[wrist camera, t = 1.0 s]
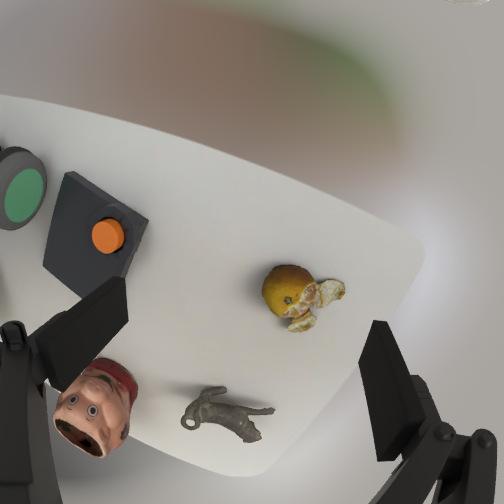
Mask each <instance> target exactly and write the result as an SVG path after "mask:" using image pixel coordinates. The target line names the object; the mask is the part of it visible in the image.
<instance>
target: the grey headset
mask: <svg viewBox="0 0 504 504" xmlns="http://www.w3.org/2000/svg"><path fill="white" fill-rule="evenodd" d="M46 185H47V177H46V172H45V168H44V166H43V163H42V162H41V161H40V159H38V158H37V157H36V156H35V155H33V154H32V153H31V152H30V151H29V150H27V149H24V148H21V147H9V148H6V149H4V150H2V151H1V147H0V228H1V229H4V230H16V229H19V228H21V227H23V226H25V225H26V224H27V223H29V222H30V220H31V219H32V218H33V217H34V216H35V215H36V213H37V212H38V210H39V208H40V206H41V204H42V202H43V199H44V196H45V192H46Z"/></svg>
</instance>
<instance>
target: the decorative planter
mask: <svg viewBox="0 0 504 504" xmlns="http://www.w3.org/2000/svg"><path fill="white" fill-rule="evenodd" d="M137 391H138V385H137V383H136V382H135V380H134V378H133V377H132V376H131V375H130V374H129V372H127V371H126V370H125V369H123V368H122V367H121V366H120V365H118V364H116V363H114V362H112V361H110V360H108V359H103V358H99V359H96V360H94V361H92V362H91V363H90V364H89V365H88V366H87V367H86V368H85V370H84V372H83V374H82V375H79V376H78V377H77V378H76V380H75V381H74V382H73V383H72V384H71V385H70V386H69V388H68V389H67V390H66V391H65V392H64V393H62V392H61V394H60V396H59V398H58V402H57V406H56V409H55V412H54V415H53V421H54V424H55V427H56V429H57V430H58V431H59V433H60V434H61V435H62V436H63V437H65V438H66V439H67V440H68V441H69V442H70V443H72V444H73V445H75V446H76V447H78V448H79V449H81V450H82V451H84V452H85V453H87V454H89V455H92V456H95V457H98V458H103V457H105V456H107V455H108V454H109V452H110V451H111V450H114V449H116V448H117V447H119V446H120V445H121V444H122V443H123V442H124V440H125V439H126V437H127V435H128V433H129V427H130V423H129V421H130V413H131V408H132V405H133V403H134V401H135V399H136V397H137Z"/></svg>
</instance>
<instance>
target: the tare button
mask: <svg viewBox="0 0 504 504" xmlns="http://www.w3.org/2000/svg"><path fill="white" fill-rule="evenodd" d="M92 239H93V243H94V245H95V246H96V248H97V249H98V250H99V251H101V252H102V253H106V254H108V253H112V252H113V251H115V250H117V249H118V248H120V247H121V246H122V244H123V242H124V231H123V228H122V227H121V225H120V224H119V223H118V222H117V221H116V220H113V219H106V220H103V221H101V222H99V223H97V224H96V225H95V226H94V228H93V231H92Z"/></svg>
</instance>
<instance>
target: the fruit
mask: <svg viewBox="0 0 504 504" xmlns="http://www.w3.org/2000/svg"><path fill="white" fill-rule="evenodd" d="M344 294H345V287H344V284H343V283H342V282H341V281H338V280H334V279H328V280H327V281H325V282H323V283H321V284H317V283H316V281H315V280H314V278H313V277H312V276H311V274H310V273H309V272H308V271H307V270H306V269H304V268H301V267H300V266H295V265H279V266H277V267H275V268H274V269H273V270H272V271H271V272H270V273H269V275H268V276H267V277H266V278H265V281H264V284H263V287H262V296H263V297H264V300H265V301H266V304H267V305H268V307H269V308H270V310H271V311H272V312H273V314H275V315H276V316H278V317H282V318H287V317H291V318H292V323H291V325H290V326H289V327H287V330H288V331H290V332H301V331H306V330H308V329H309V328H311V327H312V326H314V325H315V321H316V317H315V316H312V315H311V314H310V306H311V305H314V306H316V308H323V307H324V306H327V305H328V304H329V303H330V302H332V301H333V300H337V299H341V298H342V296H343V295H344Z"/></svg>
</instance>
